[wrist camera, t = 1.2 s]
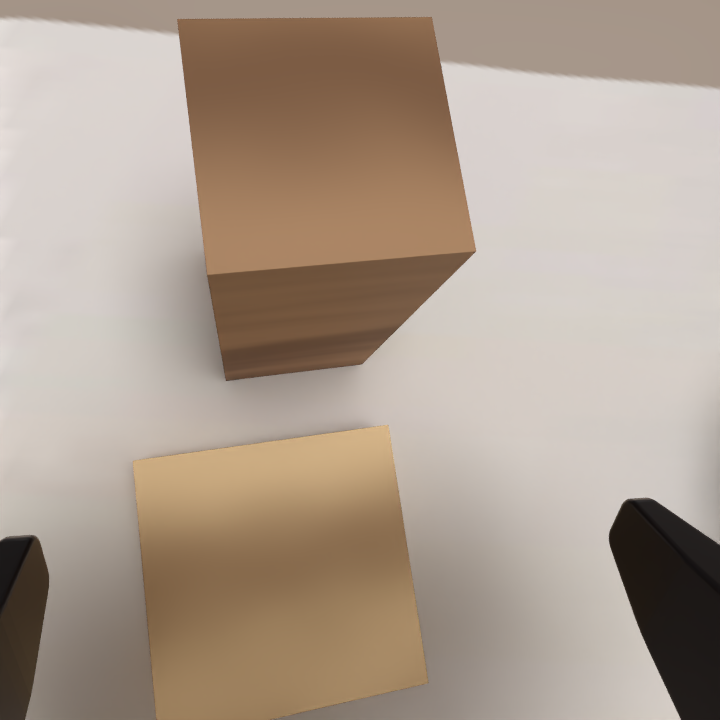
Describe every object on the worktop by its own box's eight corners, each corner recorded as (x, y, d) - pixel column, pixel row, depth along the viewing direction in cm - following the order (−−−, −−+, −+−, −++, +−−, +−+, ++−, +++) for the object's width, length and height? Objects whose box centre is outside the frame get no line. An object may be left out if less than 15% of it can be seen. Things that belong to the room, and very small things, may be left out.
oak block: (404, 656, 22) (428, 683, 19) (170, 708, 21) (158, 745, 18) (370, 431, 24) (388, 425, 21) (147, 463, 22) (132, 460, 19)
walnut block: (361, 364, 24) (476, 251, 12) (225, 380, 23) (207, 274, 11) (342, 237, 24) (431, 17, 13) (210, 248, 23) (177, 19, 12)
